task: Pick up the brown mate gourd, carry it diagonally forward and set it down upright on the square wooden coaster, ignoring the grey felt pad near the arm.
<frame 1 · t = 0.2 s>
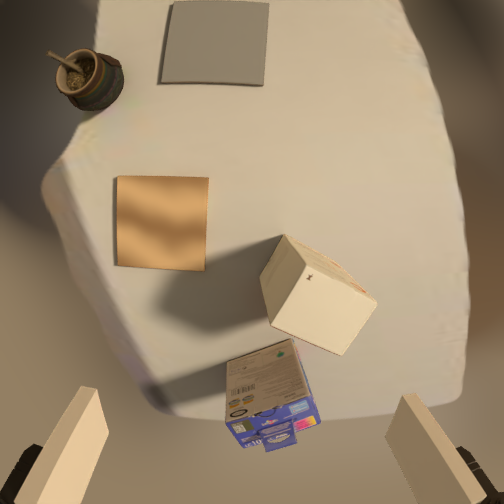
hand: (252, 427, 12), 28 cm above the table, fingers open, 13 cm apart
square wooden coaster: (161, 222, 37), on the table
ink cartridge box: (264, 364, 42), on the table
mate gourd: (103, 87, 33), on the table
small box: (298, 269, 39), on the table
felt pad: (216, 39, 32), on the table
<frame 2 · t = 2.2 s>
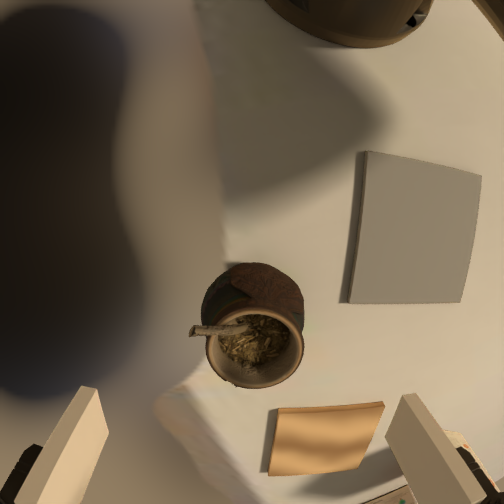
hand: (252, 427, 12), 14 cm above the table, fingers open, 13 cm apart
square wooden coaster: (322, 441, 29), on the table
ink cartridge box: (380, 501, 35), on the table
mate gourd: (248, 297, 25), on the table
small box: (431, 445, 32), on the table
felt pad: (421, 234, 24), on the table
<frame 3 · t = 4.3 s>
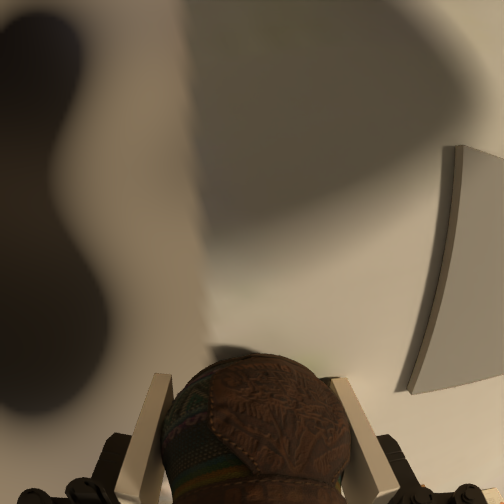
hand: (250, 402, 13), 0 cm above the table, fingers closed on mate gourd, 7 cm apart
mate gourd: (247, 395, 14), on the table, touching gripper
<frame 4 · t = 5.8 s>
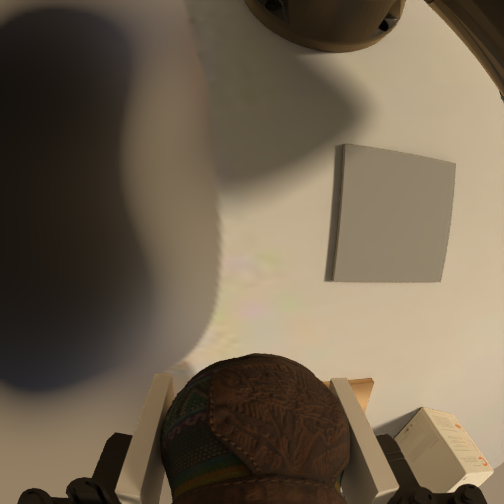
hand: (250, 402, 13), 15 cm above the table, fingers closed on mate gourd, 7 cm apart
square wooden coaster: (316, 418, 32), on the table
mate gourd: (246, 395, 14), point 15 cm above the table, touching gripper
small box: (423, 425, 35), on the table
felt pad: (398, 218, 27), on the table
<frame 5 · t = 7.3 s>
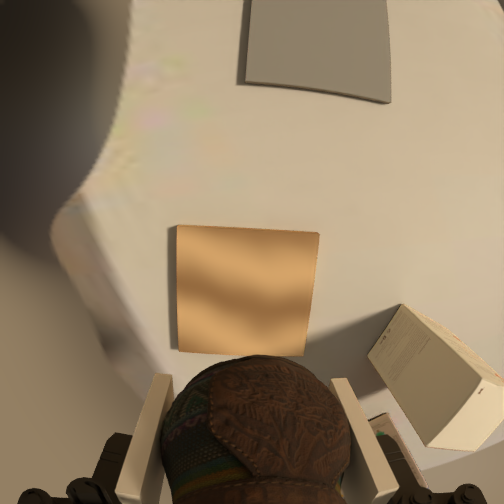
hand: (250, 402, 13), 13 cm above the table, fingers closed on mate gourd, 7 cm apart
square wooden coaster: (244, 294, 26), on the table
ink cartridge box: (352, 439, 32), on the table
mate gourd: (247, 396, 14), point 13 cm above the table, touching gripper
small box: (409, 341, 29), on the table
felt pad: (322, 28, 21), on the table
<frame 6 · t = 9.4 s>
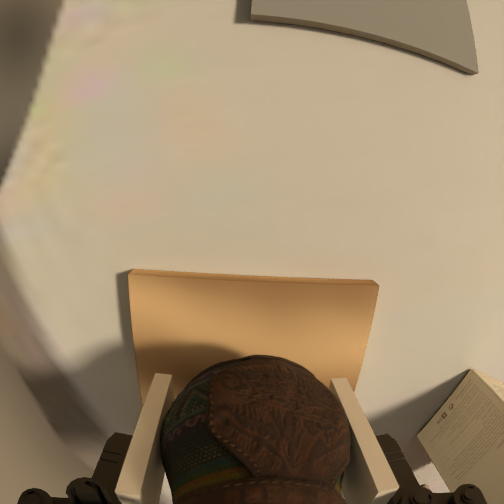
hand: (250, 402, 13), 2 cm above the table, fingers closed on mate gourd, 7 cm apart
square wooden coaster: (248, 378, 15), on the table
mate gourd: (247, 396, 14), point 2 cm above the table, touching gripper
small box: (467, 409, 18), on the table
when the fingers open (2 cm above the table, at t = 10.0 s): mate gourd stays where it is, resting on square wooden coaster.
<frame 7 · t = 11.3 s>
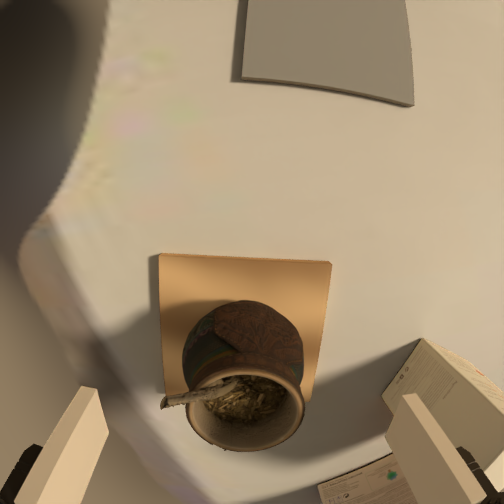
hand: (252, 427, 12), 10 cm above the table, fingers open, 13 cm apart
square wooden coaster: (241, 334, 22), on the table
ink cartridge box: (361, 477, 27), on the table
mate gourd: (238, 337, 21), point 1 cm above the table, touching square wooden coaster
small box: (426, 377, 24), on the table
felt pad: (332, 18, 17), on the table
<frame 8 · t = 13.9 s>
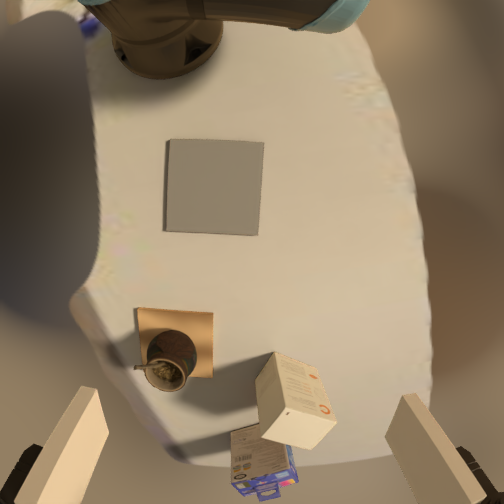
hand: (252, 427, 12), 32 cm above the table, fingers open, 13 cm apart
square wooden coaster: (176, 343, 45), on the table
ink cartridge box: (259, 432, 51), on the table
mate gourd: (174, 344, 45), point 1 cm above the table, touching square wooden coaster
small box: (285, 373, 48), on the table
felt pad: (214, 186, 40), on the table
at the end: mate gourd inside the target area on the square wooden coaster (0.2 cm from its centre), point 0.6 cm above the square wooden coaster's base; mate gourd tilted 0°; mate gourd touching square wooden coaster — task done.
